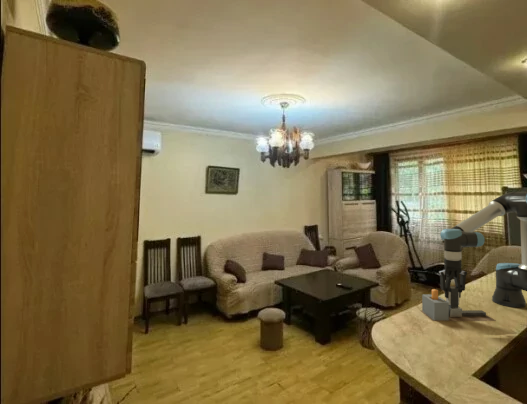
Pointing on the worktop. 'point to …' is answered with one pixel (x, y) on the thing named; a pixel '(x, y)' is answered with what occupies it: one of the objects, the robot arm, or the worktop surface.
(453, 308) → the carriage
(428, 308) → the end cabinet
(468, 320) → the base board
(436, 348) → the worktop surface
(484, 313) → the rail
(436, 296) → the button
